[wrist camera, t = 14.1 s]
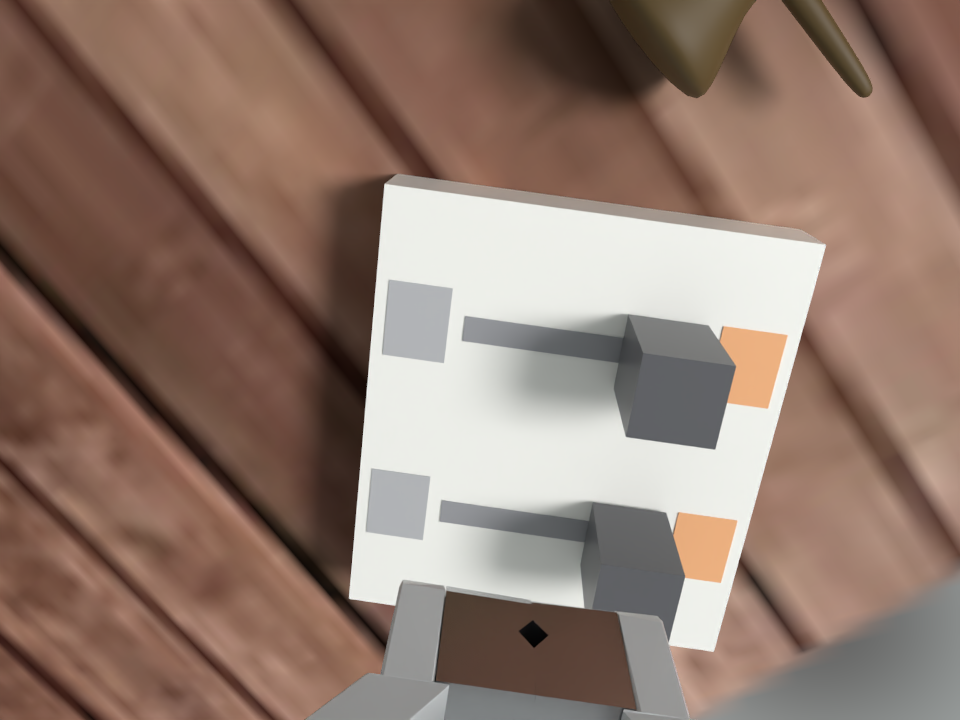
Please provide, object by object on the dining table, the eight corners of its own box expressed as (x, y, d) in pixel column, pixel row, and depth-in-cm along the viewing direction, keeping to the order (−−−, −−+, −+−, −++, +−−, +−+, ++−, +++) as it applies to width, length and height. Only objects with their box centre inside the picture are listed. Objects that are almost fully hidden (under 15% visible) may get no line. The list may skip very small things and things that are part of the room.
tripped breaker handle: (580, 564, 34) (586, 633, 30) (592, 502, 33) (601, 564, 29) (651, 575, 34) (667, 645, 30) (666, 512, 33) (685, 576, 29)
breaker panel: (362, 559, 38) (348, 599, 36) (397, 173, 32) (384, 184, 29) (700, 608, 38) (714, 652, 35) (800, 229, 32) (826, 245, 29)
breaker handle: (613, 388, 31) (625, 437, 27) (628, 314, 30) (643, 352, 26) (691, 399, 31) (715, 449, 27) (708, 325, 30) (736, 366, 26)
